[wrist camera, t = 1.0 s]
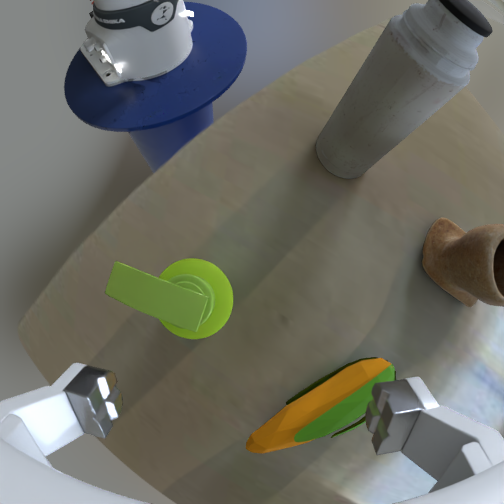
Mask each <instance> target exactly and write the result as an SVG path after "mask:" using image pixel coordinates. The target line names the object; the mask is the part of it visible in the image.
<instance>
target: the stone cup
mask: <svg viewBox="0 0 504 504" xmlns="http://www.w3.org/2000/svg"><path fill="white" fill-rule="evenodd" d="M423 256H424V257H423V260H422V264H423V267H424V270H425V271H426V273H427V274H428V275H429V277H430V278H431V279H432V280H433V281H434V282H435V283H436V284H437V285H439V286H440V287H441V288H442V289H444V290H445V291H446V292H448V293H449V294H451V295H452V296H453V297H455V298H456V299H458V300H459V301H460V302H462V303H463V304H465V305H466V306H468V307H472V306H473V305H474V304H475V303H476V302H477V300H478V299H479V300H480V301H482V302H484V303H486V304H489V305H493V306H504V225H503V224H490V225H483V226H479V227H476V228H474V229H472V230H470V231H468V232H467V233H465V232H464V231H463V230H462V229H461V228H460V227H458V226H457V225H456V224H455V223H453V222H452V221H450V220H448V219H446V218H439V219H438V220H436V221H435V222H434V223H433V225H432V226H431V228H430V229H429V231H428V233H427V236H426V239H425V242H424V245H423Z"/></svg>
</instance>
